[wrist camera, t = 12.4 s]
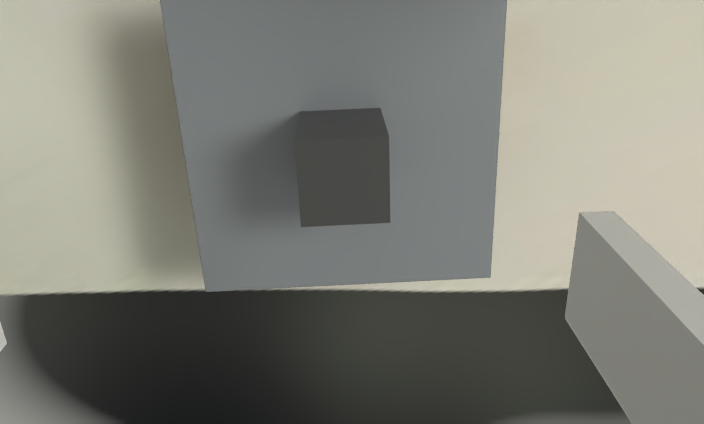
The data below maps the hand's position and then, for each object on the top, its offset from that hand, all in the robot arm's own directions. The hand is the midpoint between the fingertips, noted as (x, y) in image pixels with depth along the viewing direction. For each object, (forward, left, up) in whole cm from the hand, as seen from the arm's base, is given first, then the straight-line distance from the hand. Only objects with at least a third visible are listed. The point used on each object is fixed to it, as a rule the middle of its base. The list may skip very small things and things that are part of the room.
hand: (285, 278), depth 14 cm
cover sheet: (+1, -3, -19) cm, 19 cm away
